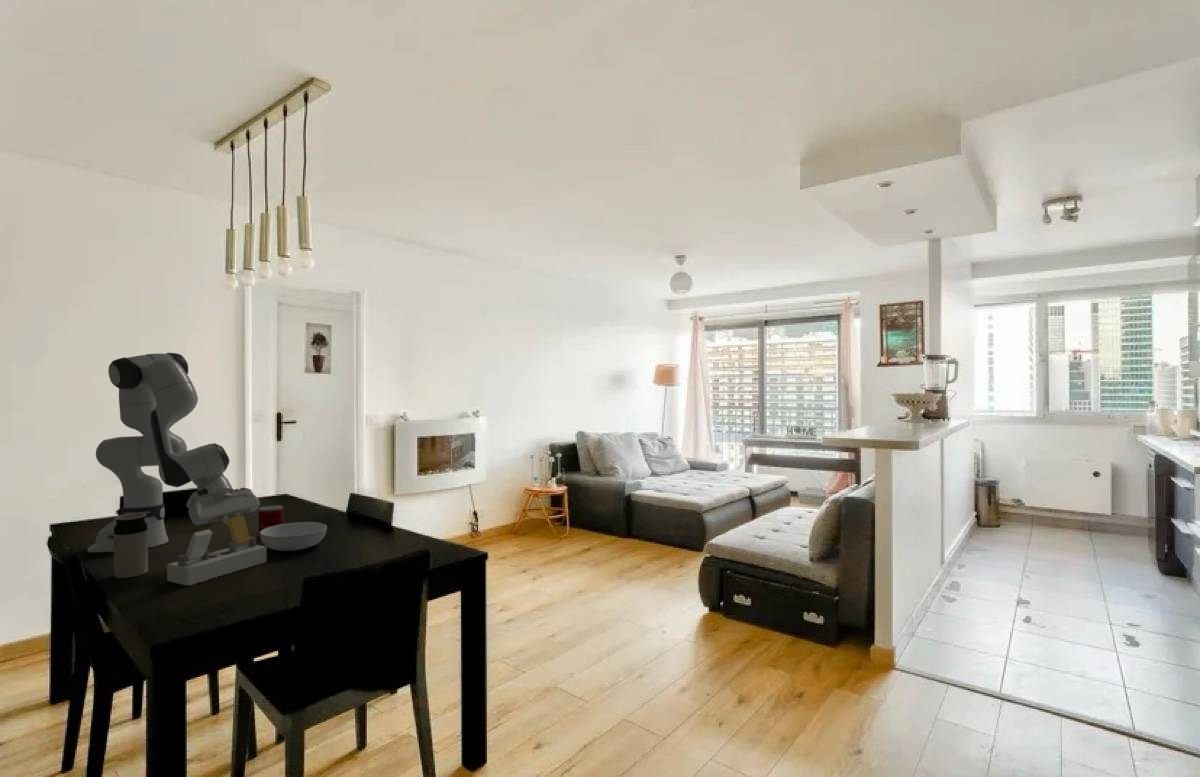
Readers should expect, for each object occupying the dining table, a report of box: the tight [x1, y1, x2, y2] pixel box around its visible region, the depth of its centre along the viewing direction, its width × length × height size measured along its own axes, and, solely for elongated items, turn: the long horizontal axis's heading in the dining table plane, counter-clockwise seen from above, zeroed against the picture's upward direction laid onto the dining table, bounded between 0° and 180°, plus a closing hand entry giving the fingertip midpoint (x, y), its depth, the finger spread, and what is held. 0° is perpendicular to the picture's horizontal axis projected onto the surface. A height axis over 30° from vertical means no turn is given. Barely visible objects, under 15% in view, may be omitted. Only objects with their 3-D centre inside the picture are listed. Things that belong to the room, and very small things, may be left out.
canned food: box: [258, 504, 284, 538], centre depth 221 cm, size 8×8×11 cm
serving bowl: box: [259, 521, 328, 552], centre depth 206 cm, size 21×21×7 cm
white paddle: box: [185, 529, 213, 562], centre depth 173 cm, size 2×5×10 cm
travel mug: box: [113, 513, 149, 579], centre depth 177 cm, size 8×8×18 cm
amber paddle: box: [227, 514, 251, 548], centre depth 188 cm, size 2×5×10 cm, turn 155°
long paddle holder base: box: [166, 536, 267, 587], centre depth 180 cm, size 10×24×8 cm, turn 156°
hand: (236, 526), depth 189 cm, fingers closed, pressing on amber paddle
